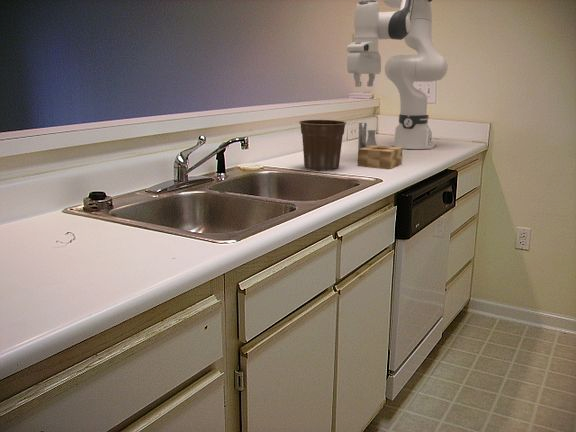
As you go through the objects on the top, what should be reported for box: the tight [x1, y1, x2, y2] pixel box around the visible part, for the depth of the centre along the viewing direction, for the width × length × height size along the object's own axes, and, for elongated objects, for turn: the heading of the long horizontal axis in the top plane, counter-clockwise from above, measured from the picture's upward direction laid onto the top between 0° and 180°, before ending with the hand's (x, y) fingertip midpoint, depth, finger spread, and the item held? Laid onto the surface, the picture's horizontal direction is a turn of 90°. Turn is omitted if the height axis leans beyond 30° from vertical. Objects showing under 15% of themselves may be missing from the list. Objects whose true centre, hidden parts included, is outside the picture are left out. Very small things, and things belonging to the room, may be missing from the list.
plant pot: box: [298, 119, 347, 171], centre depth 198 cm, size 16×16×16 cm
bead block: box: [357, 145, 404, 170], centre depth 205 cm, size 12×12×6 cm
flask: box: [366, 129, 378, 147], centre depth 226 cm, size 7×7×10 cm
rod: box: [357, 122, 368, 150], centre depth 214 cm, size 3×3×14 cm
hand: (364, 86), depth 209 cm, fingers open, 8 cm apart
